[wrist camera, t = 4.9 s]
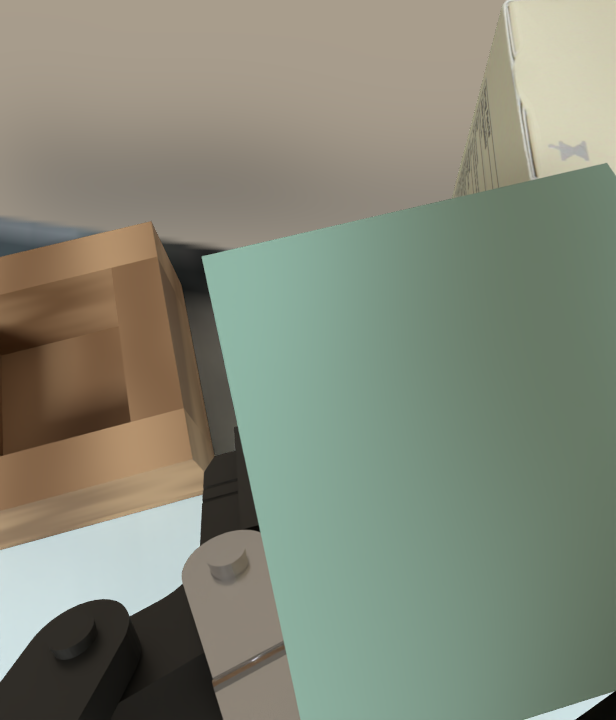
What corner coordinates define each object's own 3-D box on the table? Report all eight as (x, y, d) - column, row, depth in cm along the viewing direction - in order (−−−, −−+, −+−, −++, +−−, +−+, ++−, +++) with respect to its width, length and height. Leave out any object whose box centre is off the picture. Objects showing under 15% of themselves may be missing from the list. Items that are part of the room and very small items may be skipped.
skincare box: (543, 419, 21) (776, 200, 10) (429, 414, 21) (531, 195, 10) (526, 280, 24) (694, -15, 12) (426, 277, 24) (503, -13, 13)
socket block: (-34, 558, 20) (-128, 545, 16) (-31, 337, 24) (-105, 281, 20) (221, 489, 20) (192, 458, 16) (181, 285, 24) (151, 221, 20)
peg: (324, 653, 14) (314, 785, 3) (288, 500, 16) (200, 256, 5) (470, 609, 15) (902, 600, 4) (419, 465, 16) (606, 162, 5)
